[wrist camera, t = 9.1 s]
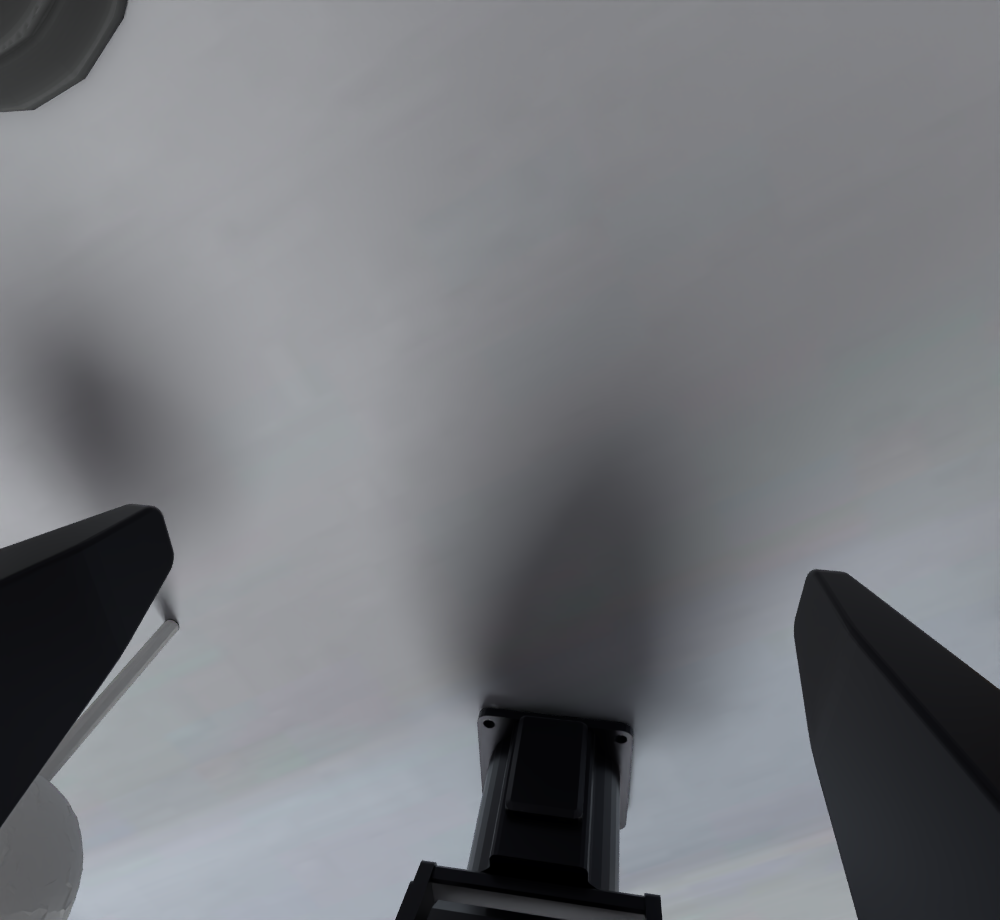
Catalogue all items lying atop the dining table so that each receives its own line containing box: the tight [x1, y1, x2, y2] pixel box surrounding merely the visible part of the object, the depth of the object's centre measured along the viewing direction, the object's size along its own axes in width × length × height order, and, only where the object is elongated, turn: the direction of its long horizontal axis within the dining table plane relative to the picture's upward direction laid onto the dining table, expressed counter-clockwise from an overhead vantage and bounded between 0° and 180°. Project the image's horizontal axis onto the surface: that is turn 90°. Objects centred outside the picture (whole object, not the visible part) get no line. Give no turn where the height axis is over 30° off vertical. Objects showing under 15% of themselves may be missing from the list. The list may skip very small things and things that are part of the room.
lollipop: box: [0, 620, 179, 920], centre depth 23 cm, size 7×7×15 cm
